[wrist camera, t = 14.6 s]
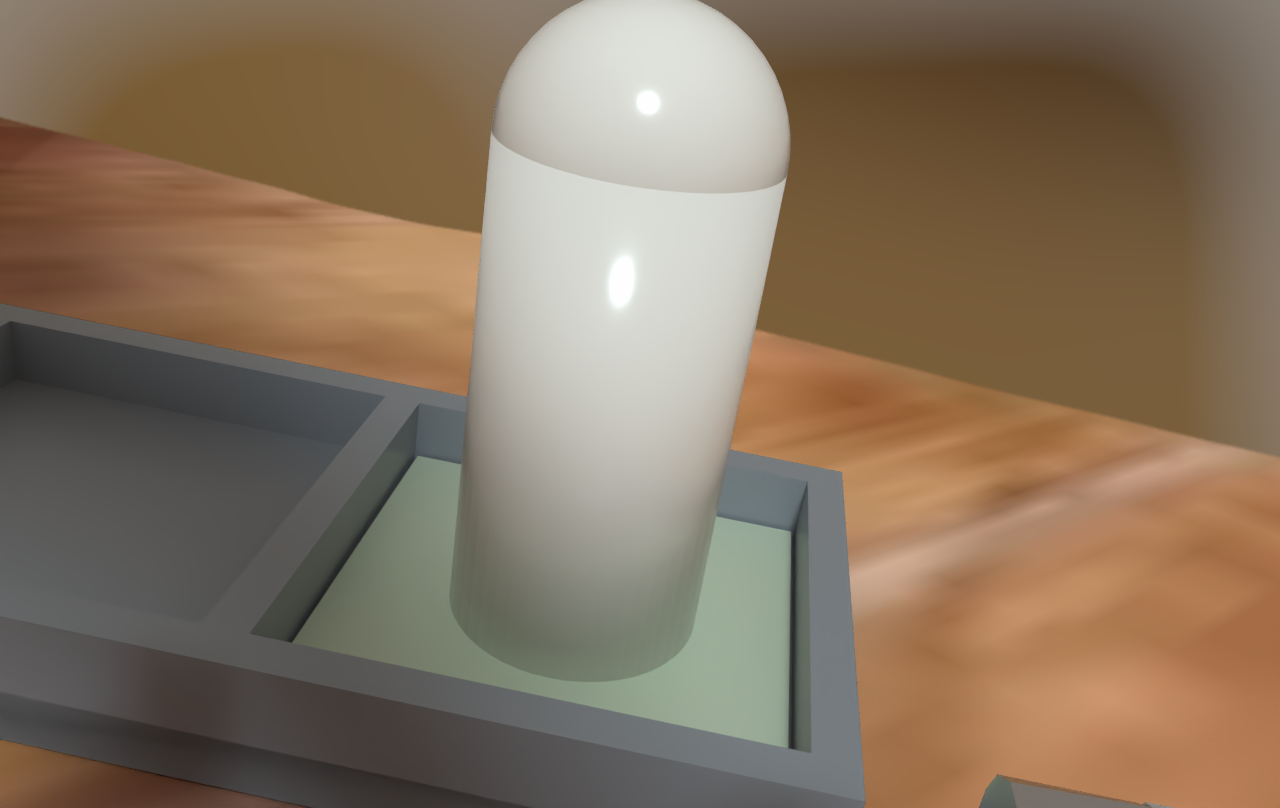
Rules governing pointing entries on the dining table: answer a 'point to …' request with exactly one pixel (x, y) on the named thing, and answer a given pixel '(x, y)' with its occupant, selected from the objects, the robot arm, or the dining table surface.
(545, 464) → the white round-topped cylinder
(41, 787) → the dining table surface
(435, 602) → the caddy
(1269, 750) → the dining table surface
